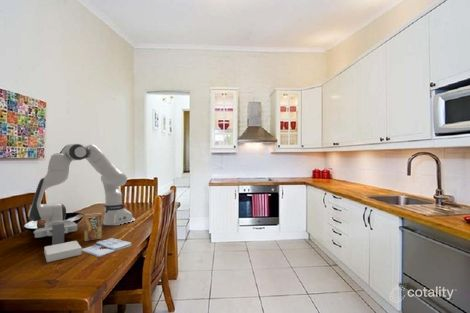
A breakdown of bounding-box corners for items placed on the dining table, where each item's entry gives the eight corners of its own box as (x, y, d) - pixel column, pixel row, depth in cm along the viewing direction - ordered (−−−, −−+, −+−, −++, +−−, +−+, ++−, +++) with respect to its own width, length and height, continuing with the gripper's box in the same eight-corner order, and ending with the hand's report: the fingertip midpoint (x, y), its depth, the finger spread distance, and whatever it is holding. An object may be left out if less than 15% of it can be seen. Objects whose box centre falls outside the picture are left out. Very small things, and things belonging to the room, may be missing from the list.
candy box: (101, 236, 151) (101, 212, 151) (101, 238, 147) (101, 213, 147) (84, 239, 147) (85, 214, 147) (84, 241, 143) (84, 215, 143)
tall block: (62, 242, 141) (62, 221, 141) (64, 244, 138) (64, 223, 138) (52, 244, 138) (52, 223, 138) (53, 246, 134) (53, 225, 134)
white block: (76, 246, 134) (76, 240, 134) (81, 254, 124) (81, 247, 124) (44, 253, 125) (44, 246, 125) (47, 262, 115) (47, 255, 115)
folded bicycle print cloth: (132, 246, 138) (132, 242, 138) (97, 259, 120) (97, 254, 120) (112, 240, 147) (112, 236, 147) (77, 251, 130) (77, 247, 130)
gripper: (33, 225, 140) (34, 231, 130) (74, 219, 154) (79, 224, 144) (33, 236, 140) (34, 243, 130) (74, 229, 154) (79, 235, 144)
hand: (58, 233), depth 137 cm, fingers closed on tall block, 5 cm apart
